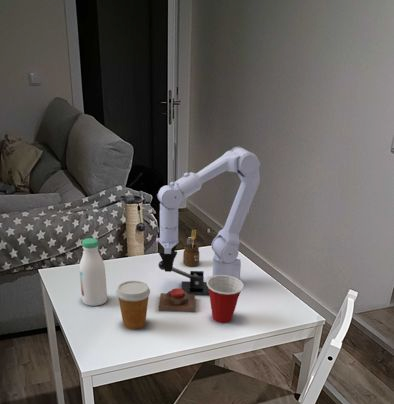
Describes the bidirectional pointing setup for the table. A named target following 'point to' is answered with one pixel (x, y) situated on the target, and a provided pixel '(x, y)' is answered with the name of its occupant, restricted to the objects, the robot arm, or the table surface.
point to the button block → (177, 303)
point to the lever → (176, 270)
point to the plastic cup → (223, 296)
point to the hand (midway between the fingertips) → (168, 266)
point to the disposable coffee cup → (133, 303)
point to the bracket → (196, 284)
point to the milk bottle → (92, 274)
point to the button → (177, 293)
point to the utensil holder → (191, 253)
